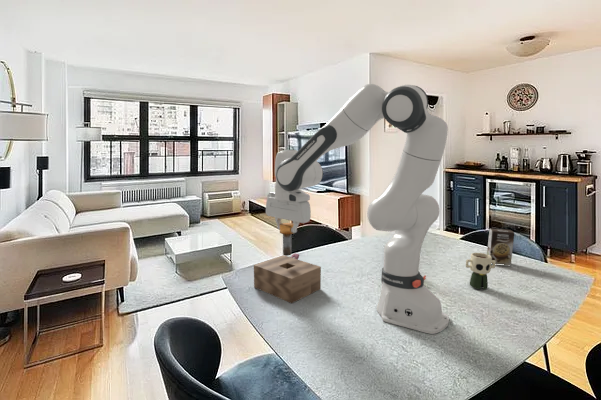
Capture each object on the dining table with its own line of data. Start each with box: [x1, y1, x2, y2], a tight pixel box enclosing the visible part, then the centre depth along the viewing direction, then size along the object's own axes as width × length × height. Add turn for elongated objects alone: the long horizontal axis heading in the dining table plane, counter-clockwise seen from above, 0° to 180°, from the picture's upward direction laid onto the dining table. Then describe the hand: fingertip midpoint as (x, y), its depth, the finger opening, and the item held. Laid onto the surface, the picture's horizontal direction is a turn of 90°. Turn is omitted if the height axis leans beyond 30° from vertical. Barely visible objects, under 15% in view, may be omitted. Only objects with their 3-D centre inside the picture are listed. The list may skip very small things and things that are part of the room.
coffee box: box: [486, 227, 515, 265], centre depth 158 cm, size 9×6×16 cm
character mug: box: [465, 252, 496, 290], centre depth 131 cm, size 11×7×13 cm, turn 85°
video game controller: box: [290, 252, 300, 260], centre depth 154 cm, size 10×5×7 cm, turn 169°
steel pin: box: [279, 222, 294, 257], centre depth 128 cm, size 6×6×12 cm
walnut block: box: [253, 254, 322, 304], centre depth 130 cm, size 20×16×9 cm
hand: (287, 230), depth 127 cm, fingers closed on steel pin, 6 cm apart
